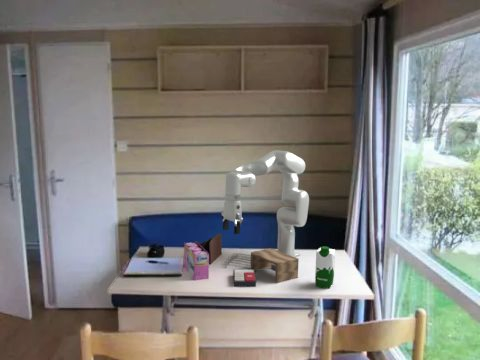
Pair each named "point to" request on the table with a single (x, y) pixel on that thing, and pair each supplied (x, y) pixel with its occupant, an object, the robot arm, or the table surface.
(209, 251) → the letter holder
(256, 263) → the tan block
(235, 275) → the calculator
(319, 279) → the milk carton
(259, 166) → the robot arm
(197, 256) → the gum box
